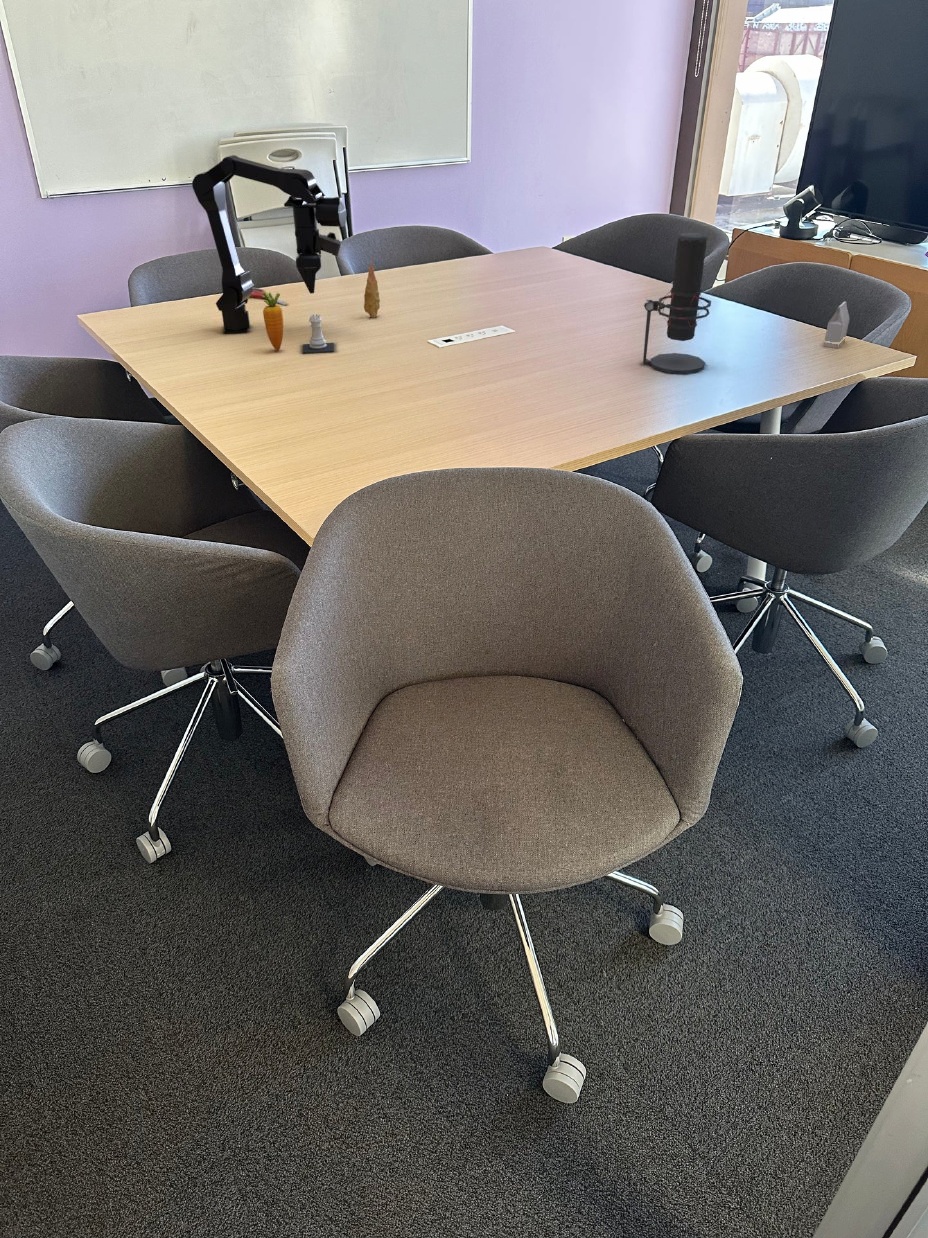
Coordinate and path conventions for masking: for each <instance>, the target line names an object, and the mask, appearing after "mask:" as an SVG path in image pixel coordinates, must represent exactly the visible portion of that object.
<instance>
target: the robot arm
mask: <svg viewBox="0 0 928 1238" xmlns="http://www.w3.org/2000/svg"><path fill="white" fill-rule="evenodd" d="M234 176H235V177H240V178H244V179H247V180H251V181H254V182H258V183H262V184H265V185H269V186H272V187H275V188H277V189H278V190H280V191H282V192H283V193H285V194H286V195H289V196H288V198H287V200H286V201H285V202H284V203H283V206H284V207H286V208H292V216H293V225H294V237H295V243H296V254H297V255H296V256H295V266H296V269H297V271H298V273H299V275H300V277H301V279H302V281H303V282H304V284H305V287H306V288H307V291H308V292H309V294H315V287H316V275H317V273H318V272H319V271H320V270H321V269H322V252H324V253H328V254H331V255H332V256H335V257H338V256H339V253H340V251H341V250H340V249H341V245H342V241H341V240H340V239H338V238H337V236H336V233H335V232H332V231H329V232H328V233H327V235H326V234H321V233H320V229H319V228H318V224H319V225H320V226H321V227H336V228H337V227H338V228H339V227H340V228H343V227H345V225H346V224H347V223H346V222H347V209H346V206H345V204H344V202H343V198H342V196H335V197H326V194H325V193H324V192H323V191H322V189H321V188H320V186H319V184H318V183H317V181H316V178H315V175H314V174H313V173H312V171H311V170H308V169H301V168H279V167H275V166H271V165H268V164H264V163H260V162H257V161H253V160H250V159H247V158H242V157H239V156H237V155H236V154H235V155H234V154H231V155H228V156H225V157H224V158H222V160H220V161H219V162H218V163H217V164H216V165H214V166H212V167H211V168H210V169H208V170H207V171H203V172H201V173H198V174H196V175H195V176H194V177H193V180H192V182H191V187H192V190H193V193H194V195H195V197H196V199H197V201H198V203H199V204H200V206H201V207H202V208H203V210H204V211H205V213H206V215H207V219H208V223H209V226H210V230H211V233H212V237H213V241H214V245H215V247H216V252H217V255H218V258H219V261H220V266H221V270H222V272H221V281H220V282H221V283H220V284H221V290H222V294H221V295H220V297H219V298H218V299H217V301H216V302H215V305H216V307H217V310H218V311H219V312H221V316H222V323H223V333H224V334H238V333H241V334H242V333H249V330H250V328H251V319H250V314H249V310H247V308H246V307H247V306H246V305H247V304H248V302H249V297H250V296H251V294H252V291H253V289H252V287H253V288H254V286H255V284H254V282H253V281H252V276H251V275H252V274H251V271H250V270H246V271H245V270H244V269H243V268H242V266H241V264H240V261H239V256H238V252H237V249H236V246H235V242H234V238H233V235H232V230H231V227H230V224H229V220H228V216H227V211H226V198H227V197H226V196H227V195H226V186H225V185H226V184H227V183H228V182H229V181H231V180H232V179H233V177H234Z"/></svg>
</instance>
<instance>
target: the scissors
mask: <svg viewBox="0 0 928 1238" xmlns="http://www.w3.org/2000/svg"><path fill="white" fill-rule="evenodd" d="M252 289H253V291H252V294H251V296H250V297H249V298H257V299H261V300H267V299H266V298H265V296H264V295H263V292H265V291H266V290H265V289H263V288H259V287H254V286H253V287H252ZM269 297H270V296H269ZM249 298H248V299H249ZM273 298H274V299H275V297H273ZM270 299H271V298H270ZM276 304H280V305H281V306H282V305H283V306H287V303H285V302H284V301H282V300H280V299H278V300H277V302H276Z"/></svg>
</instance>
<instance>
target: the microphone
mask: <svg viewBox="0 0 928 1238" xmlns="http://www.w3.org/2000/svg"><path fill="white" fill-rule="evenodd" d="M676 242H677V243H676V250H675V252H676V254H675V261H674V269H673V270H674V271H673V279H672V286H671V289H670V291H668V294H667V295H664V296H662V297H660V298H659V297H658V300H652V299H646V301H645V302H644V304H643V307H644V309H645V311H646V320H645V321H646V322H645V323H646V324H645V334H644V335H645V336H644V346H643V358H642V359H643V360H642V364H644V365H650V366H651V367H652V368H653V369H654V370H656V371H661V372H664V373H669V374H677V375H678V374H679V375H687V374H693V373H698V372H700V371H702V370H704V368H705V365H706V363H707V362H706V361H704V360H703V359H702V358H701V357H700V356H697V355H692V354H688V353H680V352H679V353H677V352H671V353H669V352H668V353H659V354H657V355H654V356H653V357H651V358H649V359H648V358H647V354H648V345H649V333H650V325H651V317H652V312H658V315H659V316H662V317H664V320H665V322H666V325H667V329H666V330H667V331H666V336H667V338H668V339H670V340H672V341H679V342H685V341H691V340H692V339H694V337H695V335H696V333H695V332H696V328H697V326H698V322H699V320H701V319H704V318H707V317H708V316H709V315H710V310H709V308H711V307H712V300H710V299H708V298H705V297H703V296H702V295H701V294H702V293H703V292H702V289H701V288H702V281H703V273H704V266H705V260H706V251H707V242H708V237H707V235H706V234H704V233H701V232H700V233H699V232H681V233H679V234H678V237H677V241H676ZM667 299H670V303H667V304H665V300H667ZM701 300H702V301H703V302H705V303H707V304H706V305H704V304H702V306H700V305H699V303H700V302H701ZM664 309H668V310H669V314H668V313H664V312H663V311H665V310H664ZM699 311H700V312H699ZM703 311H706V313H705V314H702V315H700V313H701V312H703ZM665 317H666V318H667V319H666V318H665Z"/></svg>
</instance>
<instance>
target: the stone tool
mask: <svg viewBox="0 0 928 1238" xmlns="http://www.w3.org/2000/svg"><path fill="white" fill-rule="evenodd" d="M363 299H364V300H363V302H364V303H363V309H364V312H365V313H367V314H368V315H369V317H371V318H372V319H374V318H376V317H377V316H378V313H379V312H378V311H379V310H380V306H381V304H380V302H381V298H380V292H379V285H378V280H377V278H376V275H375V269H374V265H373V262H370V264H369V268H368V272H367V278H366V286H365V289H364V295H363Z"/></svg>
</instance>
